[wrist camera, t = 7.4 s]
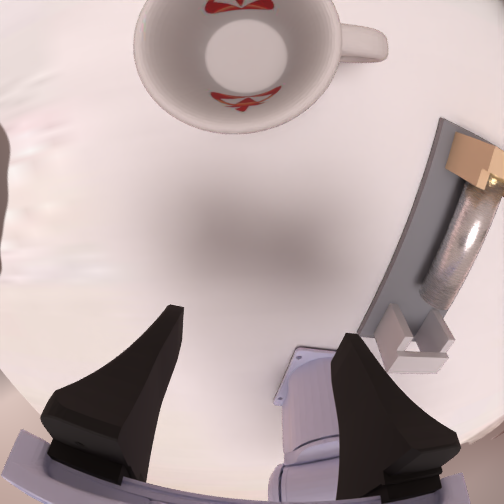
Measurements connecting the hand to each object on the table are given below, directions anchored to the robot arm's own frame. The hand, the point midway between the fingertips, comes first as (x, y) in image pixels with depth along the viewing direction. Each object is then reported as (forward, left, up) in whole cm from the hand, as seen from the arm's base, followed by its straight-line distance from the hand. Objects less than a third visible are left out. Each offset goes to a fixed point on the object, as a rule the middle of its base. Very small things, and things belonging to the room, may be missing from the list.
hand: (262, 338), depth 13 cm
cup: (+12, +2, -10) cm, 16 cm away
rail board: (+2, -14, -10) cm, 17 cm away
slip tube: (+4, -14, -10) cm, 18 cm away
